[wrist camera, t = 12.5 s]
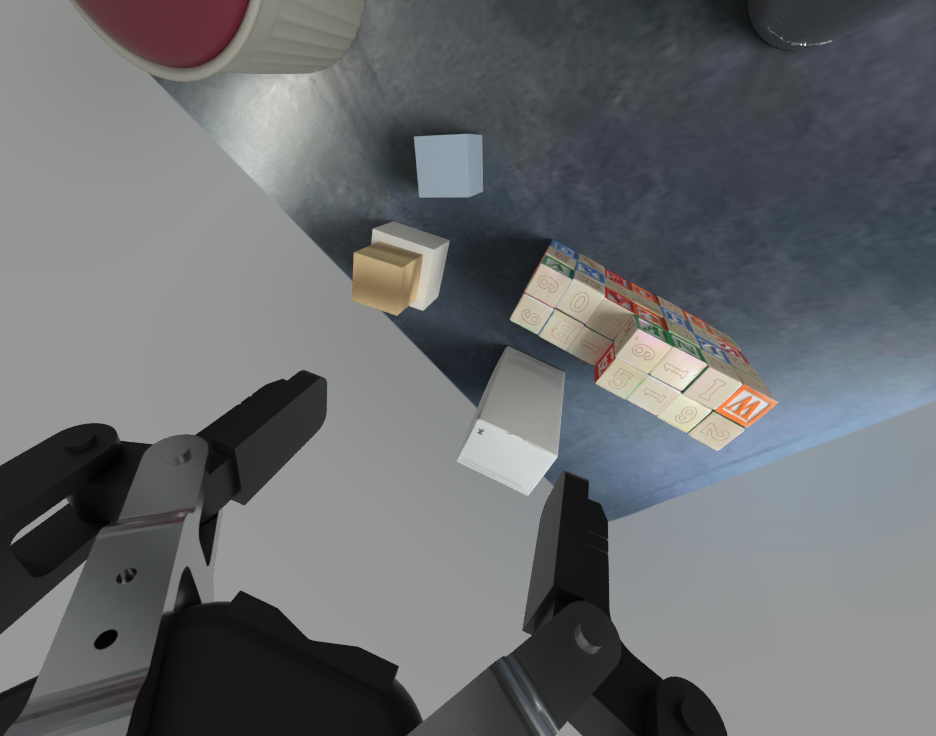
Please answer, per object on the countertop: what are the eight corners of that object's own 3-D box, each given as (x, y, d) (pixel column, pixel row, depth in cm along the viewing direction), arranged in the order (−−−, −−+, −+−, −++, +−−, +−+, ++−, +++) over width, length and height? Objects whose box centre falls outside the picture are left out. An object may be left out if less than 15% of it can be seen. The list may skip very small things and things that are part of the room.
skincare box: (488, 380, 51) (450, 461, 38) (508, 341, 47) (473, 415, 34) (545, 409, 50) (526, 500, 37) (570, 371, 46) (559, 458, 34)
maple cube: (379, 241, 40) (353, 252, 36) (423, 254, 40) (402, 267, 35) (376, 285, 43) (352, 300, 39) (416, 298, 42) (396, 315, 38)
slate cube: (434, 137, 38) (413, 136, 34) (482, 134, 37) (467, 133, 33) (437, 192, 41) (419, 197, 37) (483, 191, 39) (469, 197, 35)
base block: (394, 220, 44) (372, 228, 40) (450, 239, 43) (434, 249, 39) (386, 277, 48) (366, 290, 44) (438, 296, 47) (422, 310, 43)
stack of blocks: (524, 288, 43) (500, 332, 33) (552, 237, 40) (536, 269, 30) (690, 380, 43) (718, 454, 33) (734, 337, 39) (781, 405, 29)
